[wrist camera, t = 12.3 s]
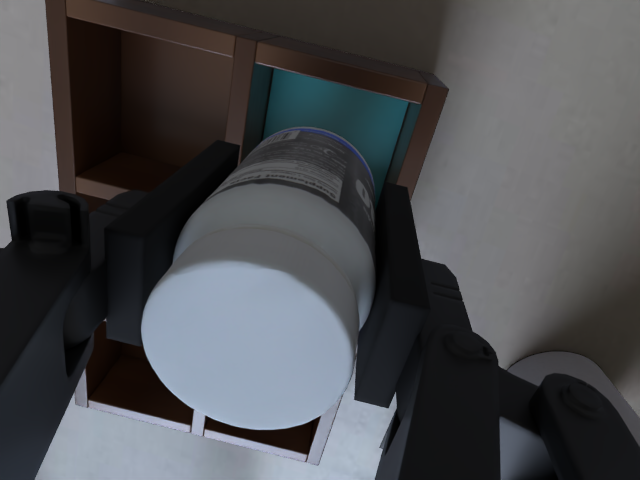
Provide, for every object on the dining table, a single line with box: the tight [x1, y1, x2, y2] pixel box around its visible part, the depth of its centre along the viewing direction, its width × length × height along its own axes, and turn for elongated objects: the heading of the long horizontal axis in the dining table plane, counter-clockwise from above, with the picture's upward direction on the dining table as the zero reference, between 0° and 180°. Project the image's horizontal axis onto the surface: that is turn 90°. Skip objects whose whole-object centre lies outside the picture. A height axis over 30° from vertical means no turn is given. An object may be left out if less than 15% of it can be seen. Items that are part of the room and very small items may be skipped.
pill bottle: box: [141, 127, 376, 430], centre depth 11 cm, size 5×5×8 cm
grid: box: [45, 0, 449, 465], centre depth 23 cm, size 15×23×5 cm
